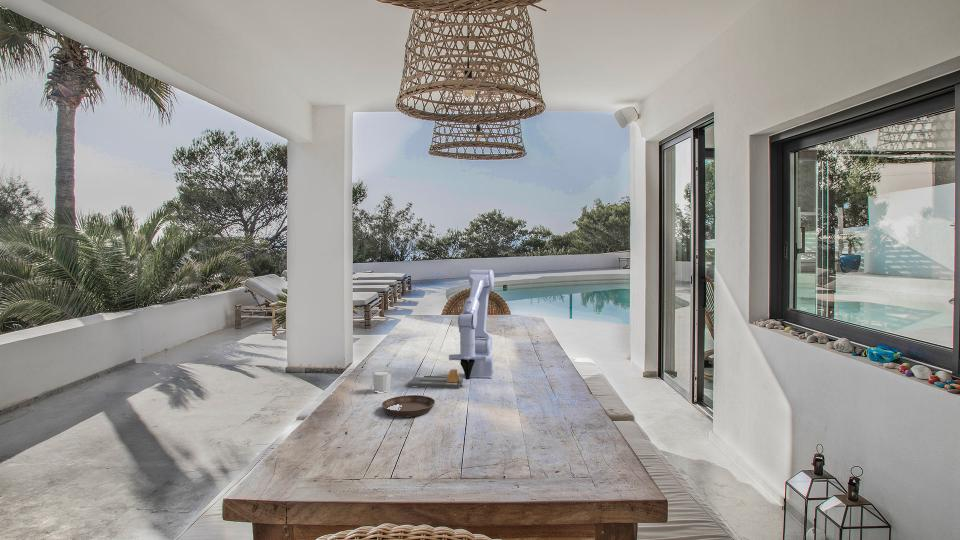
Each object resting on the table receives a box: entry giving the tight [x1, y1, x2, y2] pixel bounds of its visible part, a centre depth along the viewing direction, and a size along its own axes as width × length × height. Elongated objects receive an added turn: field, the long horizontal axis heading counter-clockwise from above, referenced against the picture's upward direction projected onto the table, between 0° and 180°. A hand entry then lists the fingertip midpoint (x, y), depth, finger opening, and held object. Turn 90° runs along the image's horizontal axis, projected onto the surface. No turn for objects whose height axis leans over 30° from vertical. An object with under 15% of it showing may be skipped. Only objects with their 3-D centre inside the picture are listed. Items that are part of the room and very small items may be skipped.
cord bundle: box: [423, 375, 447, 378], centre depth 238 cm, size 12×2×1 cm, turn 82°
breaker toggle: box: [446, 368, 461, 382], centre depth 229 cm, size 4×5×4 cm
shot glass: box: [372, 370, 392, 392], centre depth 220 cm, size 7×7×7 cm
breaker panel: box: [407, 376, 464, 390], centre depth 230 cm, size 20×10×2 cm, turn 82°
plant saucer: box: [381, 394, 436, 418], centre depth 196 cm, size 18×18×3 cm
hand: (467, 378), depth 228 cm, fingers closed
